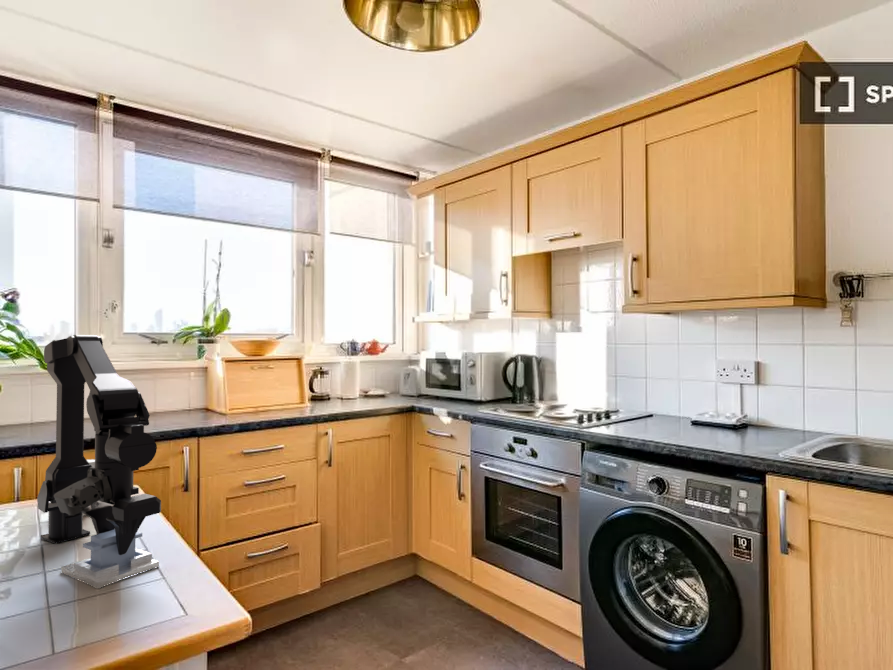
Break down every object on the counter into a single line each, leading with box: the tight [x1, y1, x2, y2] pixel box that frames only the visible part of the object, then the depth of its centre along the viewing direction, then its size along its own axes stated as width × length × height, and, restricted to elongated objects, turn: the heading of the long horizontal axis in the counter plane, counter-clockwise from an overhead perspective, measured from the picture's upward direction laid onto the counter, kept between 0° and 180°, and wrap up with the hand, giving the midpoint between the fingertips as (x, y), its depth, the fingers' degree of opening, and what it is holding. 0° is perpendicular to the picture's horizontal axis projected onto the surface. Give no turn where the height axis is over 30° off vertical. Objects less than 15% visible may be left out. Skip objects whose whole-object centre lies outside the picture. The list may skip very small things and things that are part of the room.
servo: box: [82, 529, 143, 568], centre depth 94 cm, size 8×3×6 cm, turn 148°
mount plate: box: [60, 547, 160, 589], centre depth 95 cm, size 12×10×2 cm
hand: (113, 551), depth 94 cm, fingers open, 5 cm apart
